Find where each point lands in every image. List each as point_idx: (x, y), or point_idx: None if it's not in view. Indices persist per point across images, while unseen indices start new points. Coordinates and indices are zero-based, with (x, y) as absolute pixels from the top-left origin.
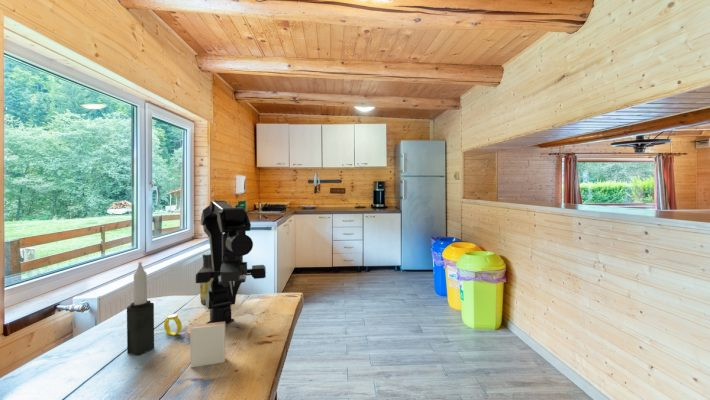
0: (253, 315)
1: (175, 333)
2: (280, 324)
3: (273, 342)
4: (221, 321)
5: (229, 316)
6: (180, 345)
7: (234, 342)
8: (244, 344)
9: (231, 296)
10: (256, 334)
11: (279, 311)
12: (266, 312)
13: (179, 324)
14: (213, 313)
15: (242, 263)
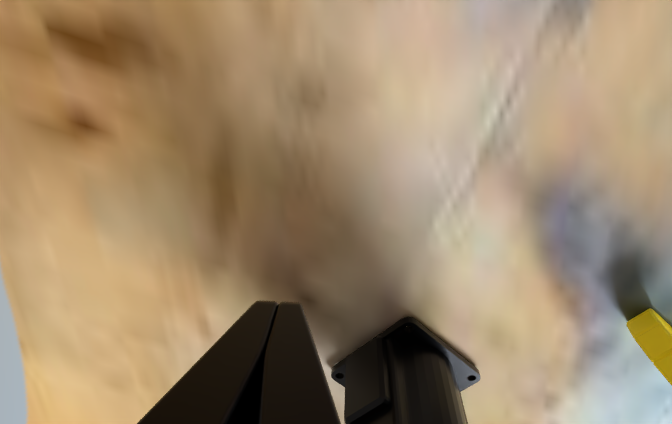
0: None
1: (654, 314)
2: (52, 257)
3: (32, 17)
4: (400, 356)
5: (355, 379)
6: (639, 186)
7: (312, 113)
8: (241, 59)
9: (273, 379)
10: (180, 177)
11: (98, 396)
12: None
13: (664, 354)
14: (455, 412)
15: None
